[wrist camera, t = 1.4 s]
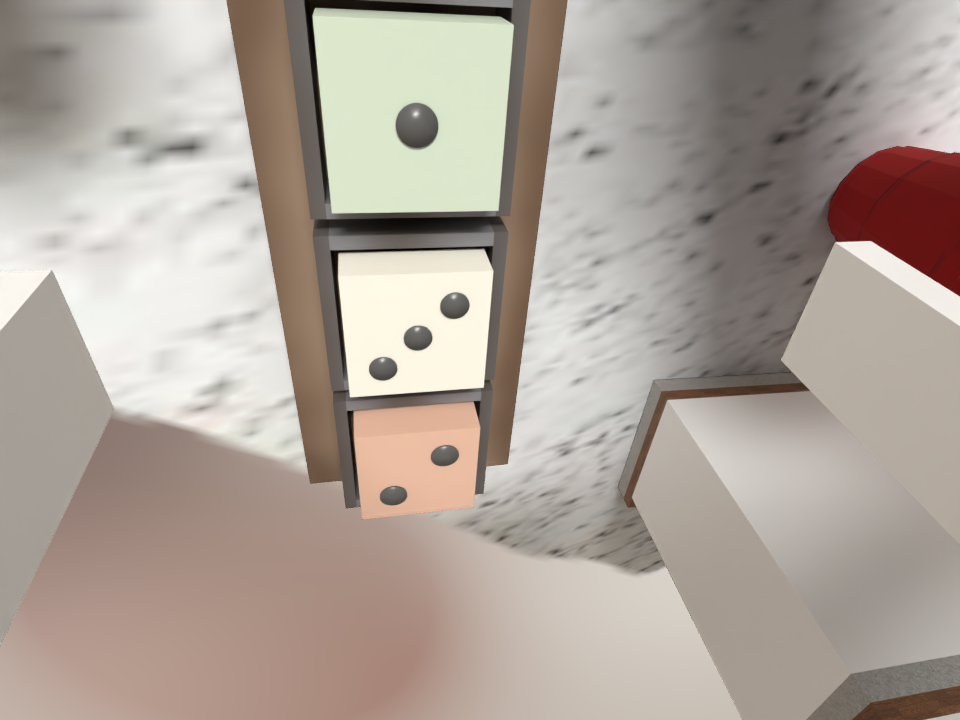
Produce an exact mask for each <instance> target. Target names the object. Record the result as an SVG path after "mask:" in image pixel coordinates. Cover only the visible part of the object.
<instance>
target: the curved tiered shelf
mask: <svg viewBox="0 0 960 720" xmlns="http://www.w3.org/2000/svg"><path fill="white" fill-rule="evenodd" d="M618 488H619V490H620V492H621V494H622V496H623V498H624V500H625V502H626V504H627V506H628V508H630V507H637V509H638V511H639V513H640V515H641V517H642V519H643V521H644V523H645V525H646V527H647V529H648V531H649V533H650V535H651V537H652V539H653V541H654V543H655V545H656V547H657V549H658V551H659V553H660V555H661V557H662V559H663V561H664V563H665V565H666V567H667V569H668V571H669V573H670V575H671V577H672V579H673V581H674V583H675V585H676V587H677V589H678V591H679V593H680V595H681V597H682V599H683V601H684V603H685V605H686V607H687V609H688V611H689V614H690V616H691V618H692V620H693V621H694V623H695V625H696V627H697V629H698V632H699V633H700V636H701V638H702V640H703V642H704V644H705V646H706V647H707V650H708V652H709V654H710V656H711V658H712V660H713V662H714V664H715V666H716V668H717V670H718V672H719V674H720V676H721V678H722V680H723V682H724V684H725V686H726V688H727V690H728V692H729V694H730V696H731V698H732V700H733V702H734V704H735V706H736V708H737V710H738V712H739V714H740V716H741V718H742V720H960V544H959V543H958V542H957V541H956V540H955V539H954V538H953V537H952V536H951V535H950V534H949V533H948V532H947V531H946V530H945V529H944V528H943V527H942V526H941V525H940V524H939V523H938V522H937V521H936V520H935V519H934V518H933V517H932V516H931V515H930V514H929V513H928V511H927V510H926V509H925V508H924V507H923V506H922V505H921V504H920V503H919V502H918V501H917V500H916V499H915V498H914V497H913V496H912V495H911V494H910V493H909V492H908V491H907V490H906V489H905V488H904V487H903V486H902V485H901V484H900V483H899V482H898V481H897V480H896V479H895V477H894V476H893V475H892V474H891V473H890V472H889V471H888V470H887V469H886V468H885V467H884V466H883V465H882V464H881V463H880V462H879V461H878V460H877V459H876V458H875V457H874V456H873V455H872V454H871V453H870V452H869V451H868V450H867V449H866V448H865V447H864V446H863V445H862V443H861V442H860V441H859V440H858V439H857V438H856V437H855V436H854V435H853V434H852V433H851V432H850V431H849V430H848V429H847V428H846V427H845V426H844V425H843V424H842V423H841V422H840V421H839V420H838V419H837V418H836V417H835V416H834V415H833V414H832V413H831V412H830V410H829V409H828V408H827V407H826V406H825V405H824V404H823V403H822V402H821V401H820V400H819V399H818V398H817V397H816V396H815V395H814V394H813V393H812V392H811V391H810V390H809V389H808V388H807V387H806V386H805V385H804V384H803V383H802V382H801V381H800V380H799V379H798V378H797V376H796V375H795V374H794V373H793V372H790V373H772V374H754V375H736V376H717V377H699V378H681V379H663V380H654V381H653V384H652V387H651V390H650V393H649V396H648V399H647V402H646V405H645V408H644V411H643V414H642V417H641V420H640V423H639V426H638V429H637V432H636V435H635V438H634V441H633V444H632V447H631V450H630V452H629V455H628V458H627V461H626V464H625V467H624V470H623V473H622V476H621V479H620V482H619V485H618Z"/></svg>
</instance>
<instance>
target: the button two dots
mask: <svg viewBox="0 0 960 720" xmlns="http://www.w3.org/2000/svg"><path fill="white" fill-rule="evenodd" d="M479 438H480V424H479V420H478V417H477V413H476V409H475V405H474V402H473V401H469V402H456V403H443V404H430V405H417V406H404V407H391V408H378V409H365V410H354V443H355V453H356V463H357V474H358V484H359V494H360V504H361V514H362V519H363V520H364V519H373V518H382V517H391V516H399V515H409V514H418V513H426V512H435V511H444V510H453V509H462V508H471V507H474V498H475V486H476V474H477V462H478V450H479Z"/></svg>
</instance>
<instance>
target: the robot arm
mask: <svg viewBox="0 0 960 720" xmlns="http://www.w3.org/2000/svg"><path fill="white" fill-rule="evenodd" d="M781 361H782V362H783V363H784V364H785V365H786V366H787V367H788V368H789V369H790V370H791V371H792V372H793V373H794V374H795V375H796V376H797V378H798V379H799V380H800V381H801V382H802V383H803V384H804V385H805V386H806V387H807V388H808V389H809V390H810V391H811V392H812V393H813V394H814V395H815V396H816V397H817V398H818V399H819V400H820V401H821V402H822V403H823V404H824V405H825V406H826V407H827V408H828V409H829V410H830V412H831V413H832V414H833V415H834V416H835V417H836V418H837V419H838V420H839V421H840V422H841V423H842V424H843V425H844V426H845V427H846V428H847V429H848V430H849V431H850V432H851V433H852V434H853V435H854V436H855V437H856V438H857V439H858V440H859V441H860V442H861V443H862V445H863V446H864V447H865V448H866V449H867V450H868V451H869V452H870V453H871V454H872V455H873V456H874V457H875V458H876V459H877V460H878V461H879V462H880V463H881V464H882V465H883V466H884V467H885V468H886V469H887V470H888V471H889V472H890V473H891V474H892V475H893V476H894V477H895V479H896V480H897V481H898V482H899V483H900V484H901V485H902V486H903V487H904V488H905V489H906V490H907V491H908V492H909V493H910V494H911V495H912V496H913V497H914V498H915V499H916V500H917V501H918V502H919V503H920V504H921V505H922V506H923V507H924V508H925V509H926V510H927V511H928V513H929V514H930V515H931V516H932V517H933V518H934V519H935V520H936V521H937V522H938V523H939V524H940V525H941V526H942V527H943V528H944V529H945V530H946V531H947V532H948V533H949V534H950V535H951V536H952V537H953V538H954V539H955V540H956V541H957V542H958V543H959V544H960V296H958V295H957V294H955V293H953V292H952V291H950V290H949V289H947V288H945V287H944V286H942V285H941V284H939V283H937V282H936V281H934V280H933V279H931V278H929V277H928V276H926V275H924V274H923V273H921V272H920V271H918V270H916V269H915V268H913V267H912V266H910V265H908V264H907V263H905V262H904V261H902V260H900V259H899V258H897V257H896V256H894V255H892V254H891V253H889V252H888V251H886V250H884V249H883V248H881V247H880V246H878V245H876V244H875V243H873V242H872V241H858V242H835V244H834V246H833V248H832V250H831V252H830V254H829V257H828V259H827V261H826V263H825V265H824V268H823V270H822V272H821V274H820V276H819V278H818V281H817V283H816V285H815V287H814V289H813V291H812V294H811V296H810V298H809V300H808V302H807V304H806V307H805V309H804V311H803V313H802V315H801V318H800V320H799V322H798V324H797V326H796V328H795V331H794V333H793V335H792V337H791V339H790V341H789V344H788V346H787V348H786V350H785V352H784V355H783V357H782V359H781ZM113 411H114V408H113V405H112V403H111V401H110V399H109V396H108V394H107V392H106V390H105V388H104V385H103V383H102V381H101V379H100V376H99V374H98V372H97V370H96V367H95V365H94V363H93V361H92V358H91V356H90V354H89V352H88V349H87V347H86V345H85V343H84V340H83V338H82V336H81V334H80V331H79V329H78V327H77V325H76V322H75V320H74V318H73V316H72V313H71V311H70V309H69V307H68V304H67V302H66V300H65V298H64V295H63V293H62V291H61V289H60V286H59V284H58V282H57V280H56V278H55V275H54V273H53V271H52V270H32V271H3V272H0V646H1V644H2V642H3V640H4V638H5V636H6V633H7V631H8V629H9V627H10V625H11V623H12V621H13V619H14V617H15V615H16V613H17V611H18V608H19V606H20V604H21V602H22V600H23V598H24V596H25V594H26V592H27V590H28V588H29V586H30V584H31V581H32V579H33V577H34V575H35V573H36V571H37V569H38V567H39V565H40V563H41V561H42V559H43V557H44V555H45V552H46V550H47V548H48V546H49V544H50V542H51V540H52V538H53V536H54V534H55V531H56V529H57V527H58V525H59V523H60V521H61V519H62V517H63V515H64V513H65V511H66V509H67V507H68V505H69V502H70V500H71V498H72V496H73V494H74V492H75V490H76V488H77V486H78V484H79V482H80V480H81V477H82V475H83V473H84V471H85V469H86V467H87V465H88V463H89V461H90V459H91V457H92V455H93V453H94V450H95V448H96V446H97V444H98V442H99V440H100V437H101V436H102V434H103V432H104V430H105V428H106V425H107V423H108V421H109V419H110V417H111V415H112V413H113Z"/></svg>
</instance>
